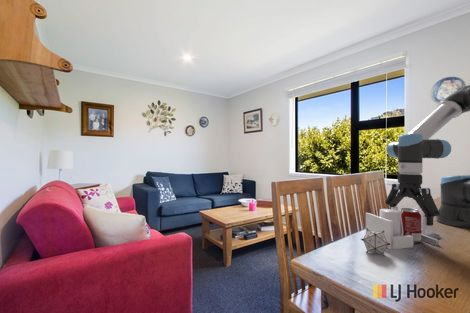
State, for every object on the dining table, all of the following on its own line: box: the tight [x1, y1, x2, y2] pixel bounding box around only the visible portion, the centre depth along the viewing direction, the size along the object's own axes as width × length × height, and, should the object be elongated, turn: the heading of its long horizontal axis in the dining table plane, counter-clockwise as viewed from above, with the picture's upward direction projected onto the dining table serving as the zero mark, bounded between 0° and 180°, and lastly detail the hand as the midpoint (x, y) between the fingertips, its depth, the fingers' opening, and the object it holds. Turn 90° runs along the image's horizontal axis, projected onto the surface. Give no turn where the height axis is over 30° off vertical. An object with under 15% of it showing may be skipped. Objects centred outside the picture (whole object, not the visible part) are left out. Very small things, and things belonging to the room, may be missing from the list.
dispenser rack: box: [365, 208, 439, 250], centre depth 86 cm, size 20×12×12 cm, turn 99°
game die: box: [360, 227, 390, 257], centre depth 75 cm, size 9×8×10 cm
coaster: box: [421, 229, 441, 240], centre depth 91 cm, size 9×9×1 cm
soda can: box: [399, 207, 422, 244], centre depth 86 cm, size 7×7×12 cm
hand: (409, 227), depth 86 cm, fingers open, 13 cm apart
